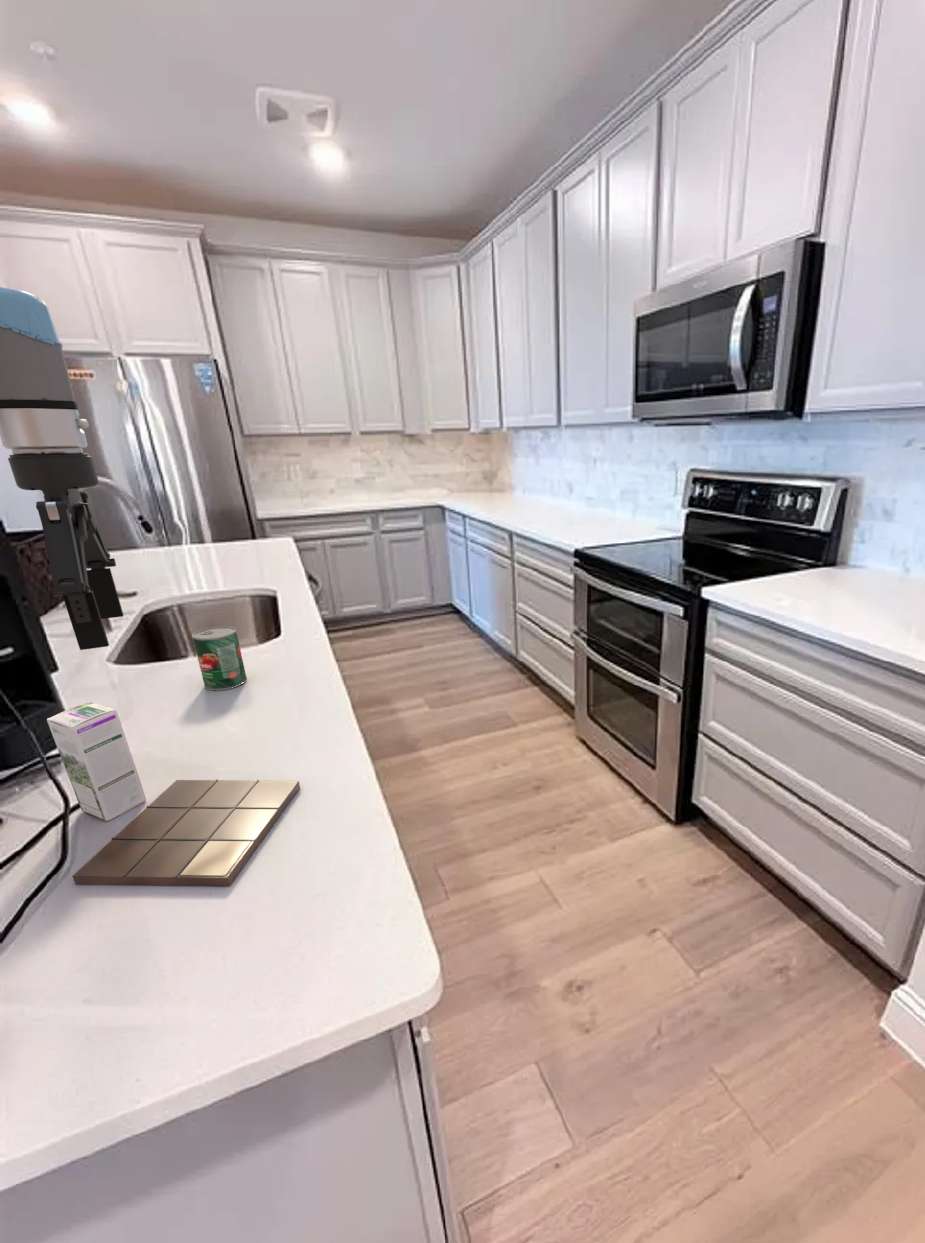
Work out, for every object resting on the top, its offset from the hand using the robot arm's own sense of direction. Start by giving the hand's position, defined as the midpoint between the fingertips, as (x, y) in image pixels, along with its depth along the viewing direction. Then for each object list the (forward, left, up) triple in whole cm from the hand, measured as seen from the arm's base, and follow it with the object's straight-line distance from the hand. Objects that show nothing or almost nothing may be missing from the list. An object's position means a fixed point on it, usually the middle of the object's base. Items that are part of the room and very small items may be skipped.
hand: (103, 631), depth 74 cm
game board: (+11, -8, -25) cm, 28 cm away
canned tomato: (-11, +40, -25) cm, 49 cm away
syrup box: (-4, -3, -25) cm, 25 cm away
